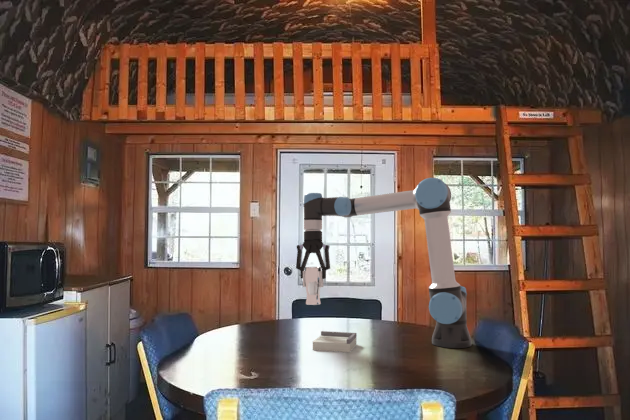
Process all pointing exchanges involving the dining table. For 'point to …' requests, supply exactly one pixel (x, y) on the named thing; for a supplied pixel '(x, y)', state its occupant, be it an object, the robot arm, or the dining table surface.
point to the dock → (335, 341)
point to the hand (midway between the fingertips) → (313, 286)
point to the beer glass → (312, 285)
